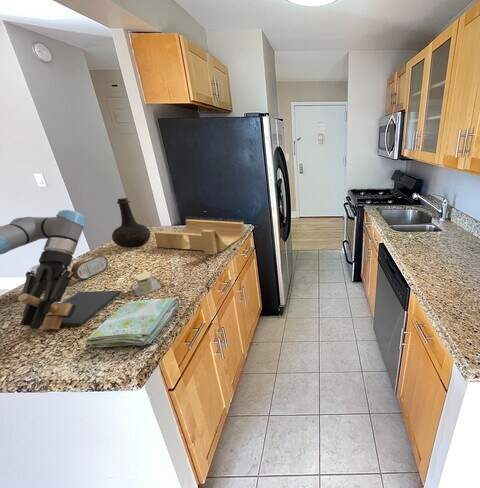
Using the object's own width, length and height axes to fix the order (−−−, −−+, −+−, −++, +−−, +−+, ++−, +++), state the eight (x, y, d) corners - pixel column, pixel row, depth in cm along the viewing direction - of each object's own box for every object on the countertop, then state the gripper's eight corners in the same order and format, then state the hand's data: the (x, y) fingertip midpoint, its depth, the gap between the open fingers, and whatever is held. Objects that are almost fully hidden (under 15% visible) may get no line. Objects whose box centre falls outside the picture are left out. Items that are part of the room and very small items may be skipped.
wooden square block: (46, 330, 85) (39, 329, 83) (50, 317, 87) (44, 316, 85) (58, 329, 85) (52, 328, 83) (63, 317, 87) (57, 316, 85)
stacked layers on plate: (162, 287, 110) (159, 276, 107) (137, 296, 104) (133, 284, 102) (155, 279, 116) (152, 268, 114) (131, 286, 110) (128, 275, 108)
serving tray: (30, 327, 86) (29, 324, 86) (79, 294, 105) (78, 291, 104) (81, 325, 87) (80, 322, 87) (121, 293, 106) (120, 290, 105)
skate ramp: (245, 236, 170) (243, 212, 164) (214, 257, 137) (210, 228, 132) (190, 232, 176) (186, 209, 171) (149, 252, 144) (142, 224, 138)
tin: (105, 267, 127) (100, 251, 124) (111, 267, 127) (105, 251, 124) (74, 282, 113) (67, 265, 110) (80, 283, 113) (73, 265, 110)
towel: (85, 351, 77) (79, 337, 75) (131, 308, 96) (127, 296, 94) (149, 348, 77) (144, 335, 76) (181, 306, 97) (178, 294, 95)
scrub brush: (45, 318, 87) (4, 303, 76) (51, 306, 89) (12, 291, 78) (70, 317, 88) (33, 303, 76) (76, 306, 90) (41, 290, 78)
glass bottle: (108, 249, 148) (91, 200, 137) (137, 238, 164) (124, 194, 153) (132, 253, 143) (116, 203, 132) (159, 241, 159) (148, 196, 148)
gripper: (91, 256, 92) (68, 325, 83) (44, 257, 91) (16, 327, 82) (73, 248, 85) (46, 322, 76) (22, 249, 84) (-11, 325, 75)
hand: (31, 325), depth 79 cm, fingers closed on scrub brush, 2 cm apart
